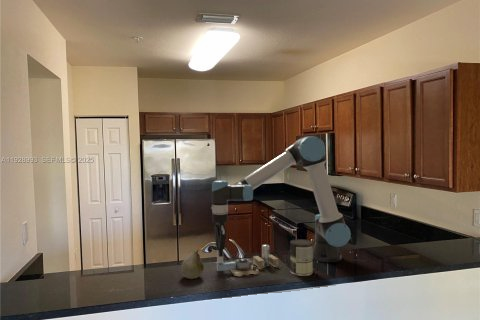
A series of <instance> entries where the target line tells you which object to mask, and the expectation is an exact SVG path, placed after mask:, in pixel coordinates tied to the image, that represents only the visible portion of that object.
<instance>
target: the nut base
mask: <svg viewBox="0 0 480 320" xmlns="http://www.w3.org/2000/svg"><path fill="white" fill-rule="evenodd" d="M229 272H231V273H232V274H233V275H234V276H238V277H243V276H242V275H246V276H250V275H249V274H254V275H259V274H258V273H260V271H259V269H258V268H257V267H256V266H254V265H252V268H251V269H250V270H237V269H233V270H229Z"/></svg>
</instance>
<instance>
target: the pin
mask: <svg viewBox="0 0 480 320" xmlns="http://www.w3.org/2000/svg"><path fill="white" fill-rule="evenodd" d="M269 255H270V245H269V244H261V259H263V260H264V266H268V265H269ZM269 266H270V265H269Z"/></svg>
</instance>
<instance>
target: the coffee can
mask: <svg viewBox="0 0 480 320" xmlns="http://www.w3.org/2000/svg"><path fill="white" fill-rule="evenodd" d="M289 244H290V270H289V272H290V273H291V274H292V275H294V276H298V277H307V276H311V275H312V274H313V273H314V270H313V267H314V265H313V264H314V263H313V260H314V259H313V248H314V242H313V241H311V240H309V239H305V238H304V239H302V238H301V239H300V238H299V239H292V240H290V243H289Z"/></svg>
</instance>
